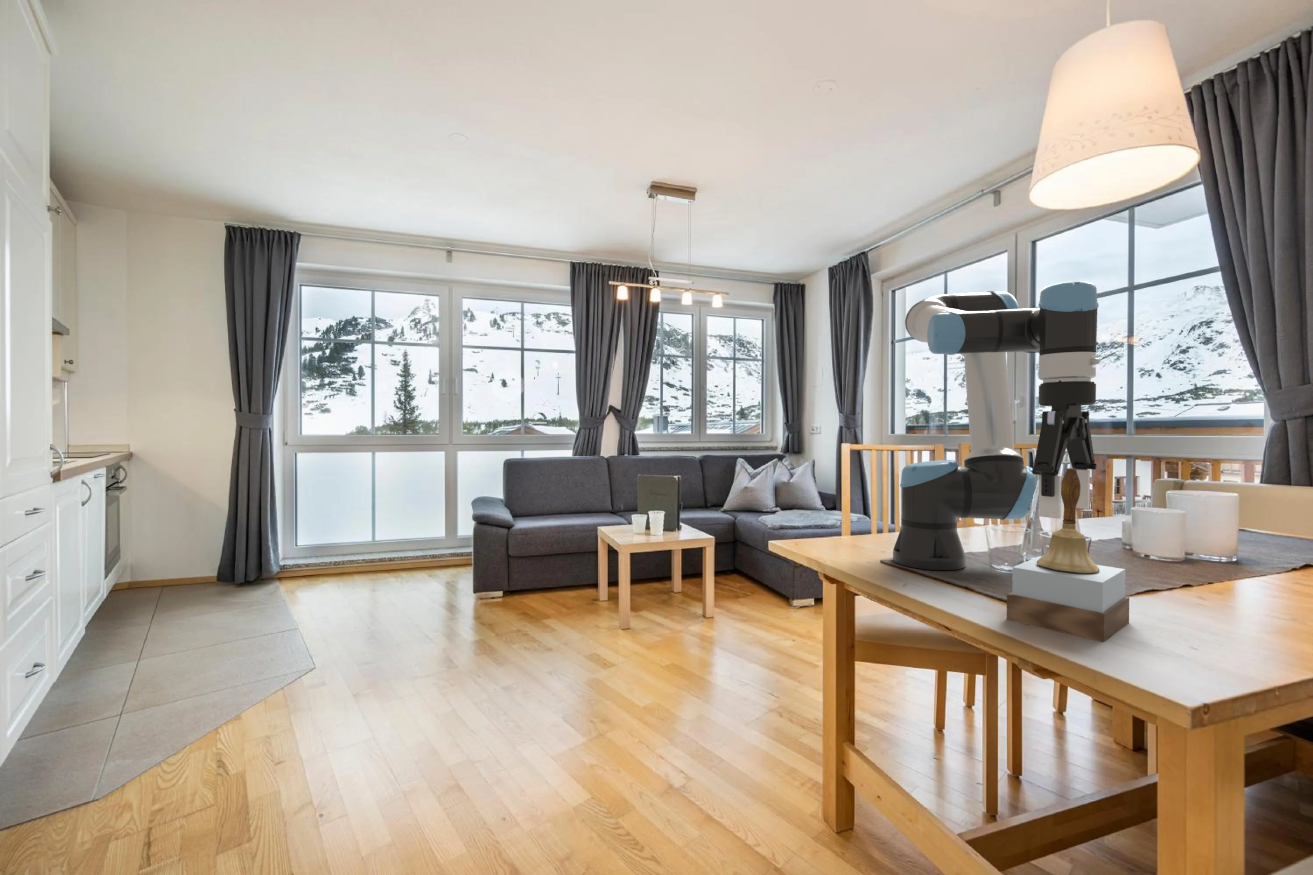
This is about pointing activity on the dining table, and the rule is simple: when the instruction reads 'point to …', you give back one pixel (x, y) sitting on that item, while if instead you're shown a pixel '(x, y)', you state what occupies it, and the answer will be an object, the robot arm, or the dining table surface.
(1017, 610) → the bottom block
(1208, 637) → the dining table surface
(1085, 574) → the top block
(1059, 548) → the hand bell
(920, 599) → the dining table surface
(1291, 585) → the dining table surface
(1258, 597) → the dining table surface
